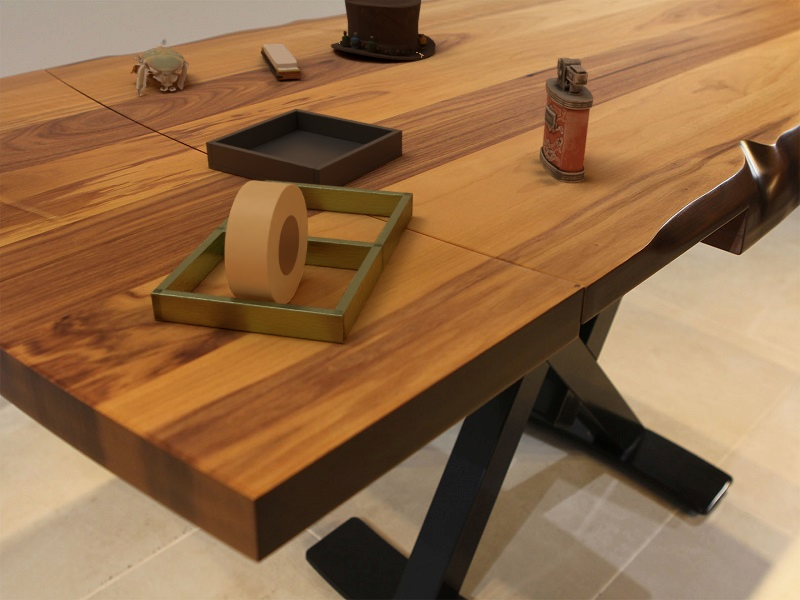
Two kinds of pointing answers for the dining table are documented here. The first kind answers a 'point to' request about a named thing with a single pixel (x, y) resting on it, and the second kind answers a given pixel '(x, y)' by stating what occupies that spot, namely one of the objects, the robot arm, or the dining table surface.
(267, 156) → the tray
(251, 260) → the tape
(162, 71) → the crab toy
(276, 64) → the harmonica
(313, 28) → the dining table surface
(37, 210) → the dining table surface
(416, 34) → the top hat
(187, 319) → the rack
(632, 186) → the dining table surface
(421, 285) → the dining table surface
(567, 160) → the lighter
